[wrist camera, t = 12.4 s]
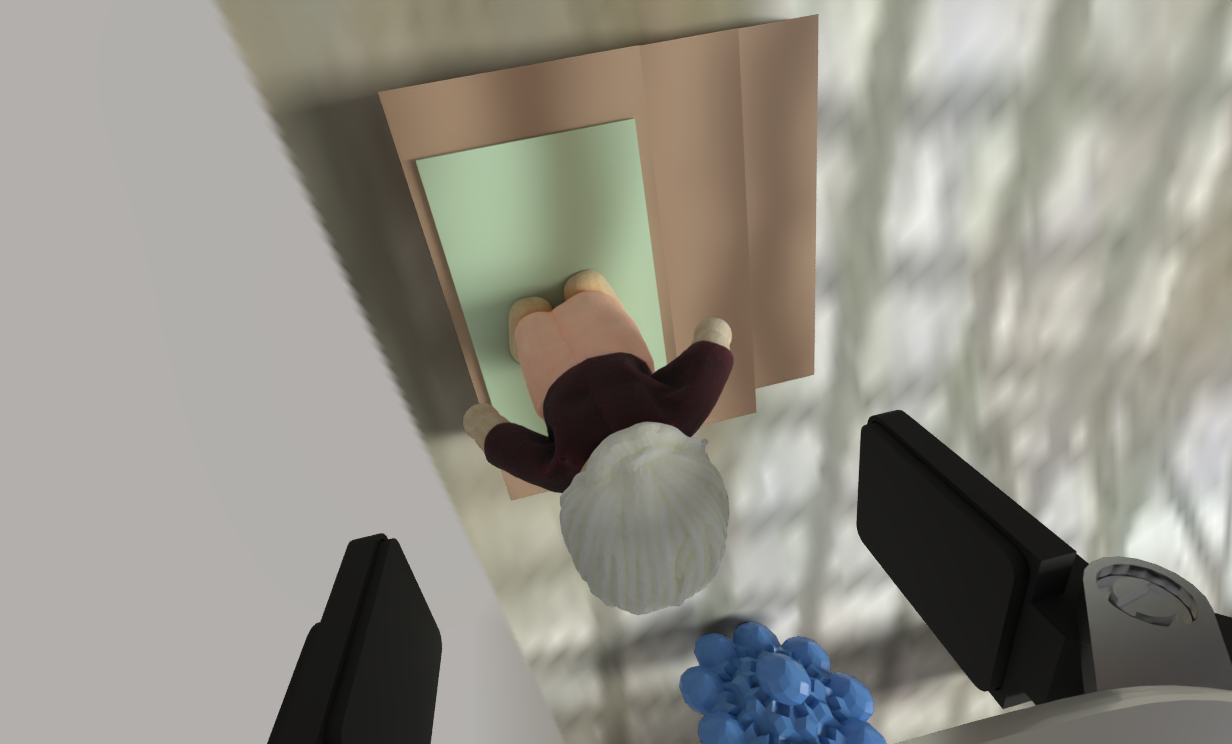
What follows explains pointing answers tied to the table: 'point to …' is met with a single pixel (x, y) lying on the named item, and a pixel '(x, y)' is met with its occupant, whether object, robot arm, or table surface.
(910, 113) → the table surface
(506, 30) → the table surface
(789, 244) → the step riser
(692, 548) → the grandmother figurine
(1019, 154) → the table surface
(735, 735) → the grapes
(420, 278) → the table surface
